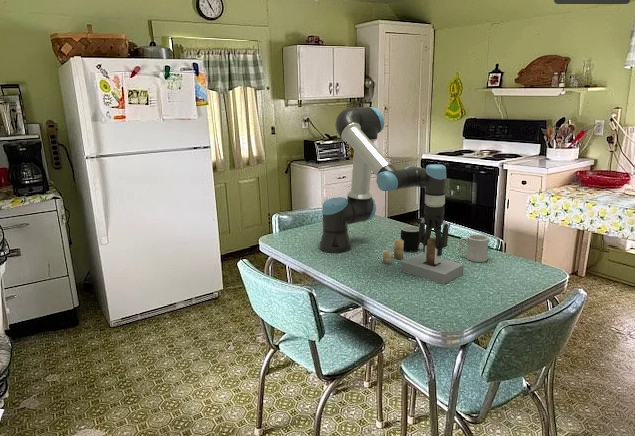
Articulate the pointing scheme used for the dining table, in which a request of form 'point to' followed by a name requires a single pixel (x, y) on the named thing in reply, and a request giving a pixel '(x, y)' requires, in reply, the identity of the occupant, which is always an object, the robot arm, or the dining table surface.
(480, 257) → the mug
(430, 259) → the long pin
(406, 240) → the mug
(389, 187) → the robot arm
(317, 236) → the dining table surface
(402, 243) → the medium pin
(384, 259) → the short pin
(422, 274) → the hole board
